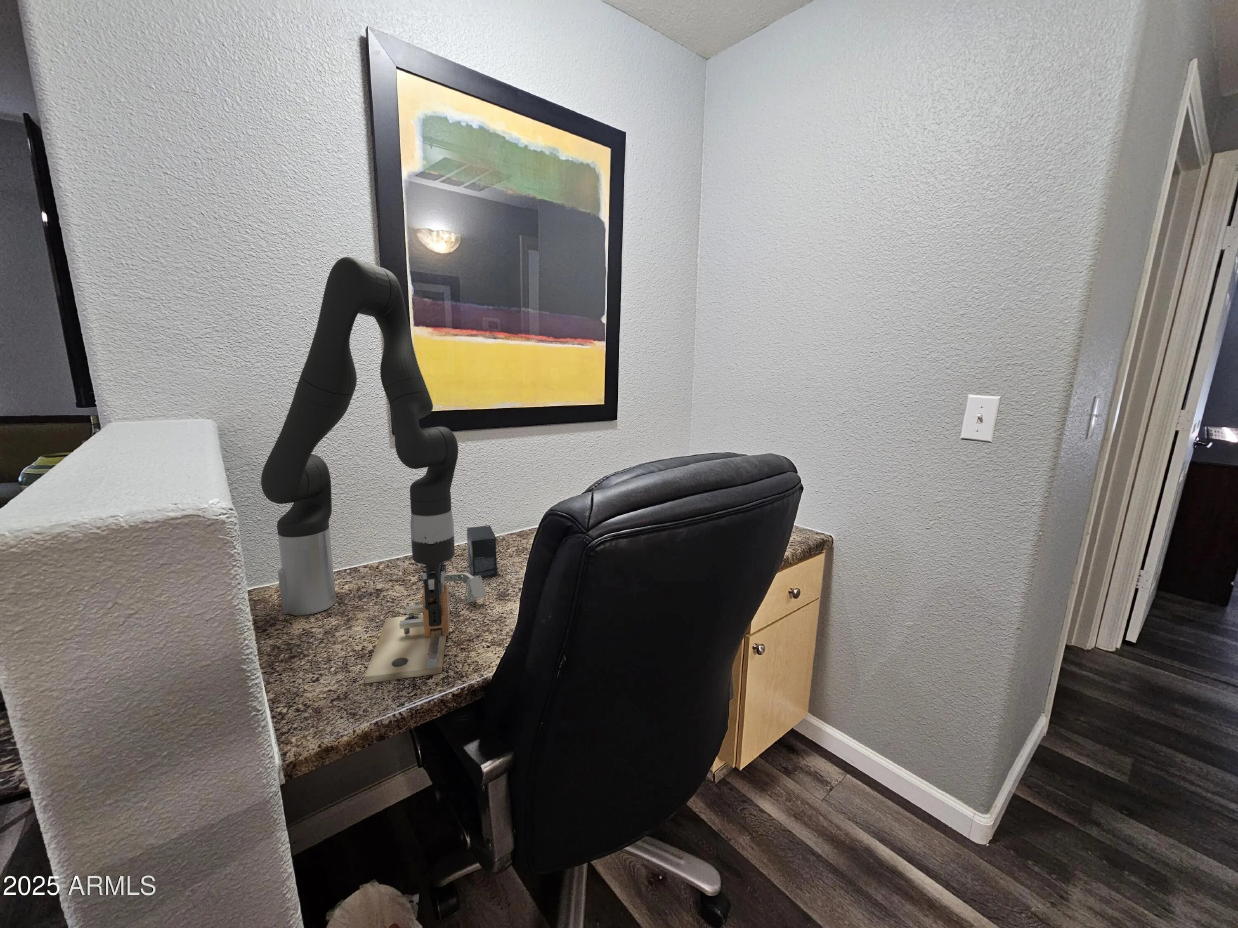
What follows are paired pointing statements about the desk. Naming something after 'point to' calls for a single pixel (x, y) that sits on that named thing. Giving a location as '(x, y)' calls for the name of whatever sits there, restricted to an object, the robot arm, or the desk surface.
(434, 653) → the divider beam
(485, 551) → the small box
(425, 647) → the bolt plate
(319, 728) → the desk surface
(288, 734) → the desk surface
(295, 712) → the desk surface
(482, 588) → the bracket
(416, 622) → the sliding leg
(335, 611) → the desk surface
